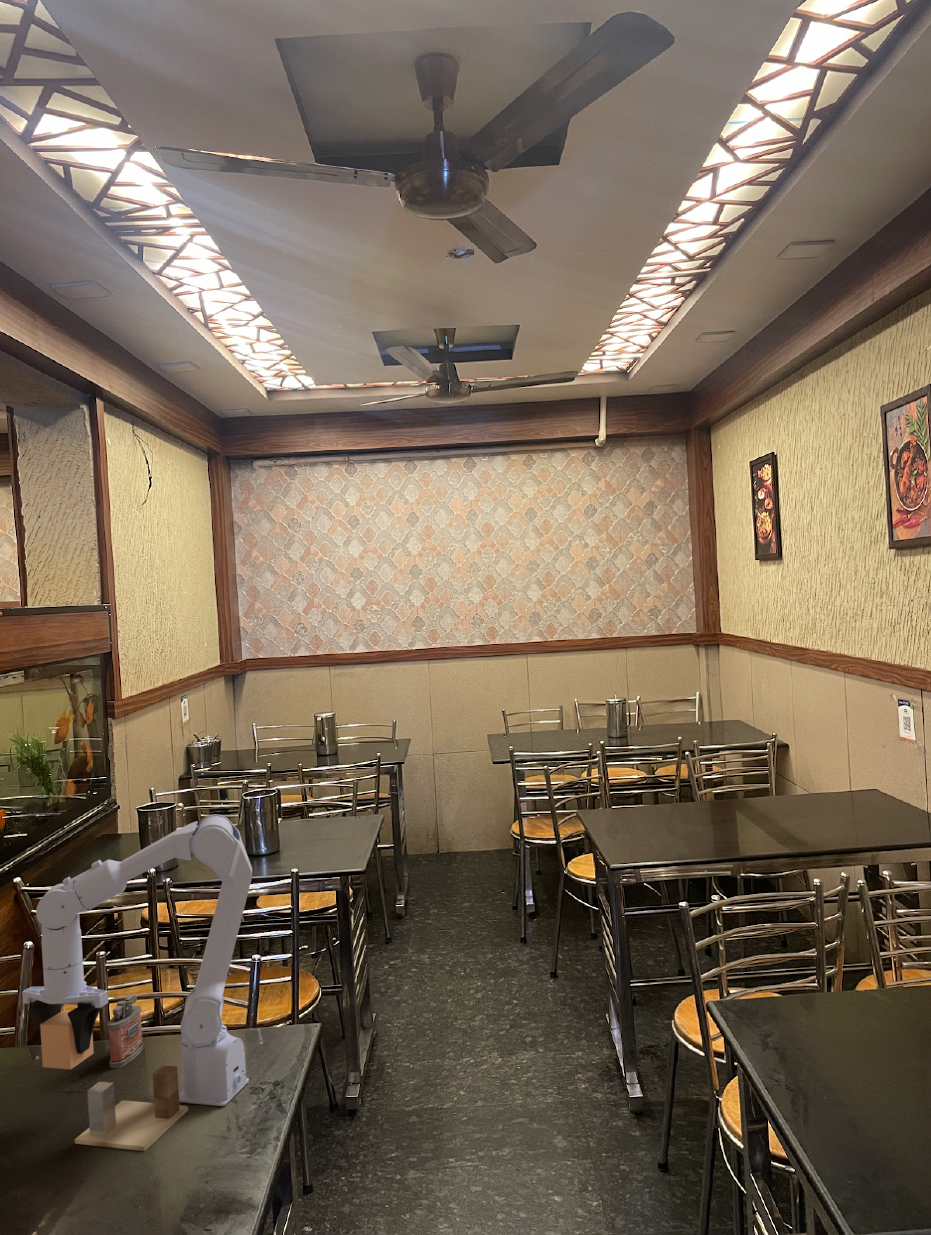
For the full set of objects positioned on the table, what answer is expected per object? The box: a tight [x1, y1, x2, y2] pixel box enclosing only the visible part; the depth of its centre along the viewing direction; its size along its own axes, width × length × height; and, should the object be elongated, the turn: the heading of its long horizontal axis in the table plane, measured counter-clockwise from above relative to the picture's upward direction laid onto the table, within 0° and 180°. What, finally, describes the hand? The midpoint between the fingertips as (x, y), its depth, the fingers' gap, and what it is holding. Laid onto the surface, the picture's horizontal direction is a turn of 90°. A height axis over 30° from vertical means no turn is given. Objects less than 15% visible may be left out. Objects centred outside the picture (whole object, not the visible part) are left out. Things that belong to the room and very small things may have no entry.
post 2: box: [152, 1065, 180, 1119], centre depth 136 cm, size 3×3×7 cm
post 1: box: [87, 1081, 116, 1137], centre depth 132 cm, size 3×3×7 cm
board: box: [74, 1099, 189, 1152], centre depth 134 cm, size 12×11×1 cm
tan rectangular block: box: [40, 1009, 95, 1070], centre depth 138 cm, size 5×5×7 cm
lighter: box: [107, 994, 145, 1069], centre depth 157 cm, size 8×3×10 cm, turn 168°
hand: (67, 1049), depth 138 cm, fingers closed on tan rectangular block, 5 cm apart
